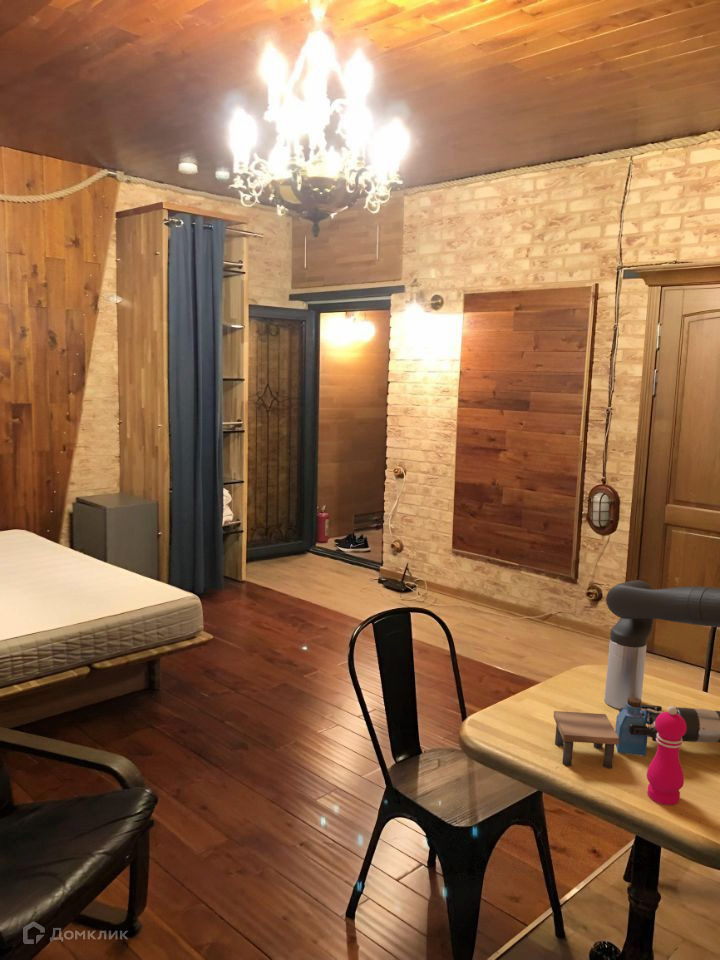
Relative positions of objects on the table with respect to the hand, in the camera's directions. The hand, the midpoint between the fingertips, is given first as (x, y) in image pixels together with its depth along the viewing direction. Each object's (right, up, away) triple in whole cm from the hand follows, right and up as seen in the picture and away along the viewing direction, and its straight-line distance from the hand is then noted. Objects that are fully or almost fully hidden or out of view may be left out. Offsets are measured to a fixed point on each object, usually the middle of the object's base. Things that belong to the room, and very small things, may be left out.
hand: (624, 720), depth 183 cm
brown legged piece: (-11, -7, -3) cm, 13 cm away
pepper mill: (+1, -10, -20) cm, 22 cm away
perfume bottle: (+1, -7, +1) cm, 7 cm away
